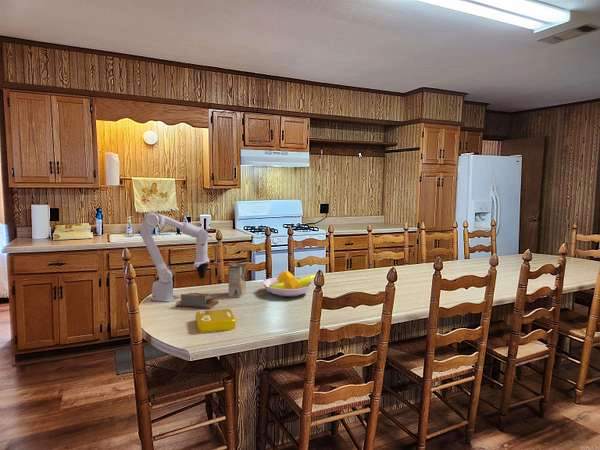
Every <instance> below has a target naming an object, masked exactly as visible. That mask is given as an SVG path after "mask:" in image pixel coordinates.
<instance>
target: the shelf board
mask: <svg viewBox="0 0 600 450" xmlns="http://www.w3.org/2000/svg"><path fill="white" fill-rule="evenodd" d="M218 304H219V300H214V301H213V302H212V303H210V304H206V307H202V308H201V307H200V308H201V309H200V308H199V307H198V306H196V308H195V306H194V307H193V306H190V307H191V308H190V307H189V306H187V305H186V307H184V305H182V306H183V307H182V306H181V301H179V302H178V303H176V304H175V306H176V307H177V308H187V307H188V309H198V308H199V310H208V311H211V310H212V309H214V308H215V306H216V305H218ZM192 307H193V308H192ZM203 308H204V309H203Z"/></svg>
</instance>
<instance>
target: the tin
mask: <svg viewBox="0 0 600 450" xmlns="http://www.w3.org/2000/svg"><path fill="white" fill-rule="evenodd" d="M187 294H189V295H201V296H206V304H210V303H212V302H213V301H215V299H214V298H215V296H214V295H213V294H208V293H201V292H199V293H198V292H189V293H187Z"/></svg>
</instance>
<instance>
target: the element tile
mask: <svg viewBox="0 0 600 450" xmlns="http://www.w3.org/2000/svg"><path fill="white" fill-rule="evenodd" d="M195 325H196V329H197V332H198V333H200V332H207V333H212V332H211V331H216V332H224V331H223V330H226V331H232V329H233V330H235V329H236V318H235V316H234V314H233V311H232V310H231V309H228V308H225V309H224V308H223V309H214V310H212V309H210V310H202V311H197V312H196V313H195Z"/></svg>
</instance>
